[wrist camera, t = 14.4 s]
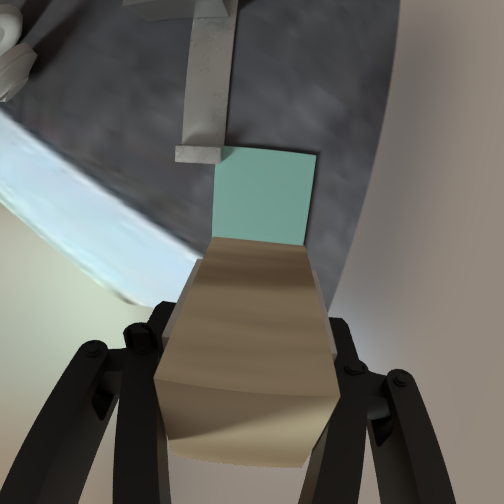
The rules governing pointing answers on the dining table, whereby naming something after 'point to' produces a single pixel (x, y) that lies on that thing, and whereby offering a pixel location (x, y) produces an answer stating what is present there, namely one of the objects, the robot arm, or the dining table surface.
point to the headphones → (13, 53)
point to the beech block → (248, 359)
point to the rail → (207, 89)
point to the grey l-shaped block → (177, 9)
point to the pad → (262, 195)
